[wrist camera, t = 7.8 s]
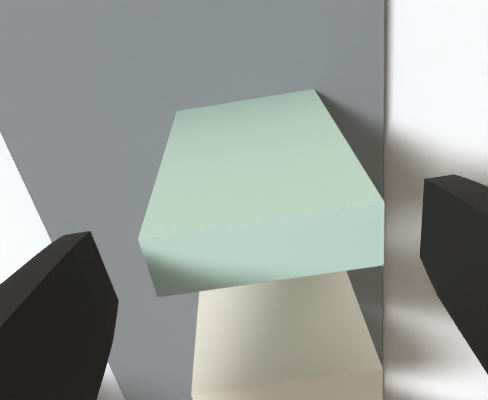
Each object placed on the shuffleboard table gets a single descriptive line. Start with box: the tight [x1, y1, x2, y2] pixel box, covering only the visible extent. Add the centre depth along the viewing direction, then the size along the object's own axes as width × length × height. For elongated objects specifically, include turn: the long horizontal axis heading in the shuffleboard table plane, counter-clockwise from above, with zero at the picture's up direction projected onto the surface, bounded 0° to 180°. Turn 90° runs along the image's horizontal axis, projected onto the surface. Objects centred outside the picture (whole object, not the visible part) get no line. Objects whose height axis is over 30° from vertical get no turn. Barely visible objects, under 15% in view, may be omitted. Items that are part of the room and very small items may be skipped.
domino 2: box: [191, 271, 383, 400], centre depth 15 cm, size 2×5×8 cm, turn 99°
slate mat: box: [0, 0, 385, 400], centre depth 21 cm, size 14×29×1 cm, turn 9°
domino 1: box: [138, 89, 385, 297], centre depth 13 cm, size 2×5×8 cm, turn 99°
